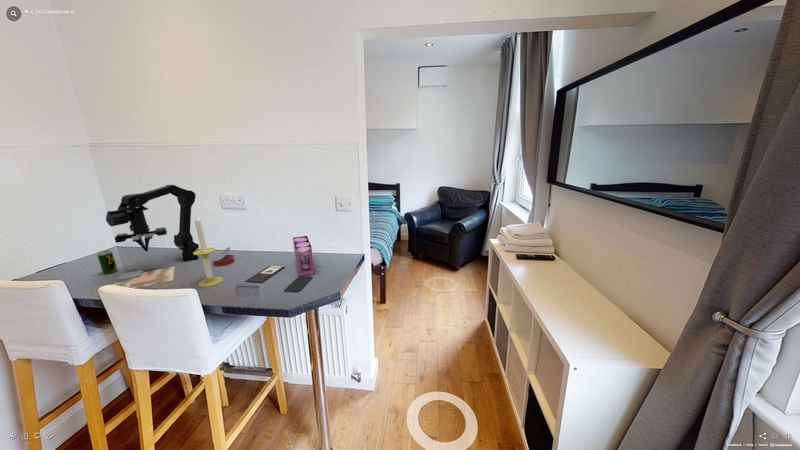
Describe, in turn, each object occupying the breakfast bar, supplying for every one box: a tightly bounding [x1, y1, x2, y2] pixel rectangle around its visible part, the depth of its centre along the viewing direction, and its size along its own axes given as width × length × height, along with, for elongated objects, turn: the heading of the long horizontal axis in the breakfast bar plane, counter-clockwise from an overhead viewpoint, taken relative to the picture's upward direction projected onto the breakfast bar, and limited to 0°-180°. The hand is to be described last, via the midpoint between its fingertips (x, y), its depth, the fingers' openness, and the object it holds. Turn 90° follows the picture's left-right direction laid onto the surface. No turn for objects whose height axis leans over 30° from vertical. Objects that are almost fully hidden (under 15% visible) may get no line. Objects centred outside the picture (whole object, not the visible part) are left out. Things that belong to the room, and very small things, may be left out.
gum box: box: [292, 235, 315, 277], centre depth 147 cm, size 24×8×14 cm, turn 23°
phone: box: [283, 275, 314, 293], centre depth 130 cm, size 7×1×15 cm
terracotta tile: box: [130, 274, 158, 289], centre depth 135 cm, size 2×8×9 cm
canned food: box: [212, 246, 235, 267], centre depth 157 cm, size 11×10×10 cm
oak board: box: [112, 266, 176, 289], centre depth 139 cm, size 23×21×1 cm
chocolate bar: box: [244, 265, 286, 284], centre depth 141 cm, size 9×1×18 cm
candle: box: [193, 214, 224, 288], centre depth 130 cm, size 10×10×32 cm
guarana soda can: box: [96, 249, 119, 276], centre depth 145 cm, size 5×5×12 cm
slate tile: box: [114, 269, 144, 284], centre depth 140 cm, size 2×8×9 cm
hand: (146, 251), depth 143 cm, fingers closed
